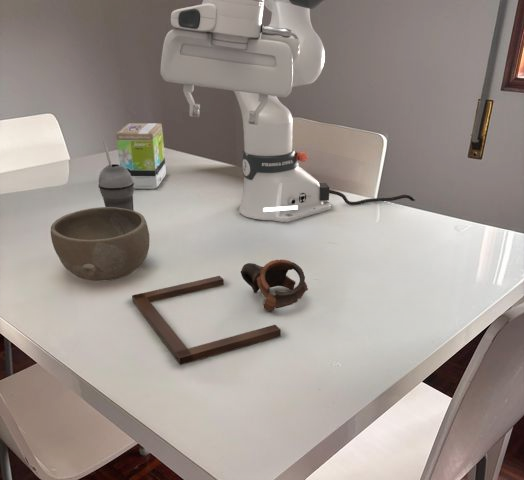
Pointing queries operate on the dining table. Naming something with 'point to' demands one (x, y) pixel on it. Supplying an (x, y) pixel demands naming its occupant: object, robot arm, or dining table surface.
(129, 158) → the tea box
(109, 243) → the bowl
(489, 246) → the dining table surface
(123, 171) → the beverage cup
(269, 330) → the frame
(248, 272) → the broken brown mug
